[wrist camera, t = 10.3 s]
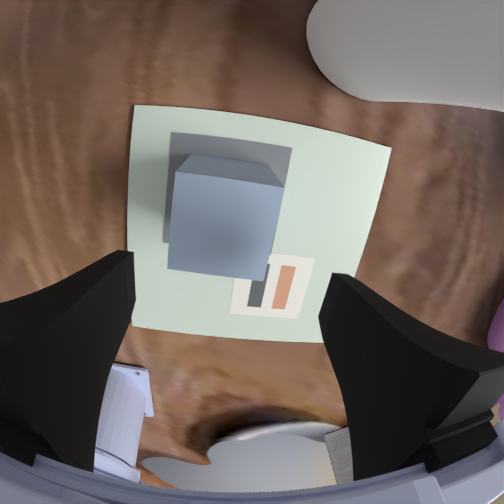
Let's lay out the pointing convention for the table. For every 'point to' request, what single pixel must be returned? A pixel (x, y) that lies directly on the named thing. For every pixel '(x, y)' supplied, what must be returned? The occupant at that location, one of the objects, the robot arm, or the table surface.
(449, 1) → the bottle
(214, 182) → the blue-grey rectangular block
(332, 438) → the skincare box
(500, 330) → the container set
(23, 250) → the table surface
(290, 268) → the mat
